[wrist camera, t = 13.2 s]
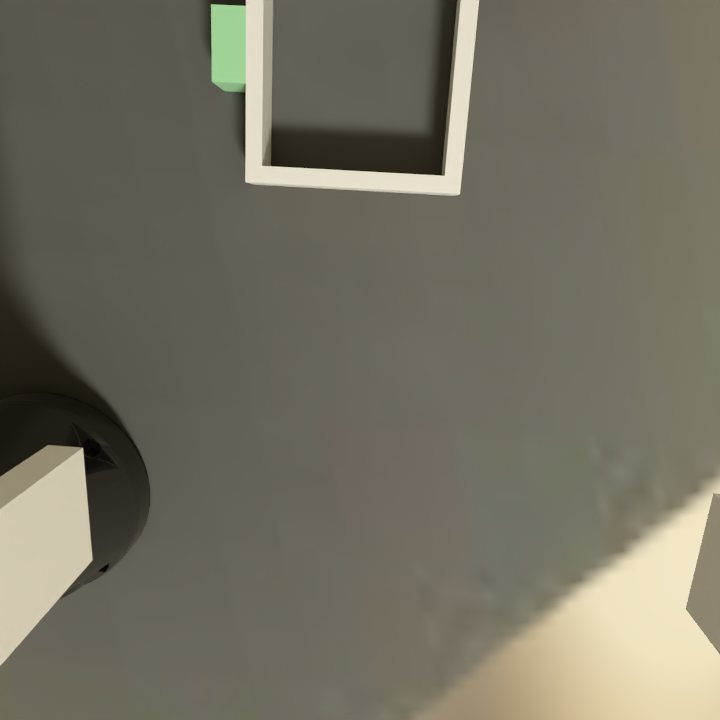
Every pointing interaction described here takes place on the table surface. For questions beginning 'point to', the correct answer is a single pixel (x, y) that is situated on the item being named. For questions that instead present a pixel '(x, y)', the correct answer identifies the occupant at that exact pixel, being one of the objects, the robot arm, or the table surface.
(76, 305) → the table surface
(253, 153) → the frame
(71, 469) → the robot arm
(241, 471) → the table surface
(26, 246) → the table surface
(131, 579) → the table surface
